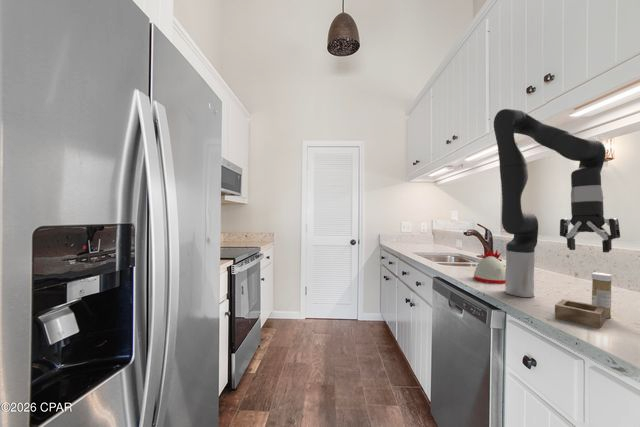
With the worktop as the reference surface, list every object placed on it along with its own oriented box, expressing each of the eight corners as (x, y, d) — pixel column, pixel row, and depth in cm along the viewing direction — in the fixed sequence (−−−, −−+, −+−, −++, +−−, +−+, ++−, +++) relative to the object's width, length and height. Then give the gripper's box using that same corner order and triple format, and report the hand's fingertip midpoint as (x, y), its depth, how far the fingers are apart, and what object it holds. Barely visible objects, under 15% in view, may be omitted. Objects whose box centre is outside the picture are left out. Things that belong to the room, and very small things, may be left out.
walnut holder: (554, 317, 86) (555, 304, 86) (562, 311, 93) (563, 298, 93) (600, 328, 79) (600, 314, 79) (605, 320, 85) (605, 307, 85)
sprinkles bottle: (591, 312, 92) (591, 271, 92) (611, 315, 89) (611, 273, 89) (591, 315, 88) (591, 273, 88) (612, 319, 85) (612, 275, 85)
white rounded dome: (511, 285, 127) (512, 252, 127) (477, 282, 131) (478, 250, 131) (502, 278, 140) (502, 248, 140) (471, 276, 144) (471, 247, 144)
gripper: (554, 202, 95) (555, 249, 95) (610, 198, 82) (612, 254, 82) (566, 202, 98) (568, 248, 98) (622, 199, 85) (625, 252, 85)
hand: (588, 251), depth 90 cm, fingers open, 8 cm apart
